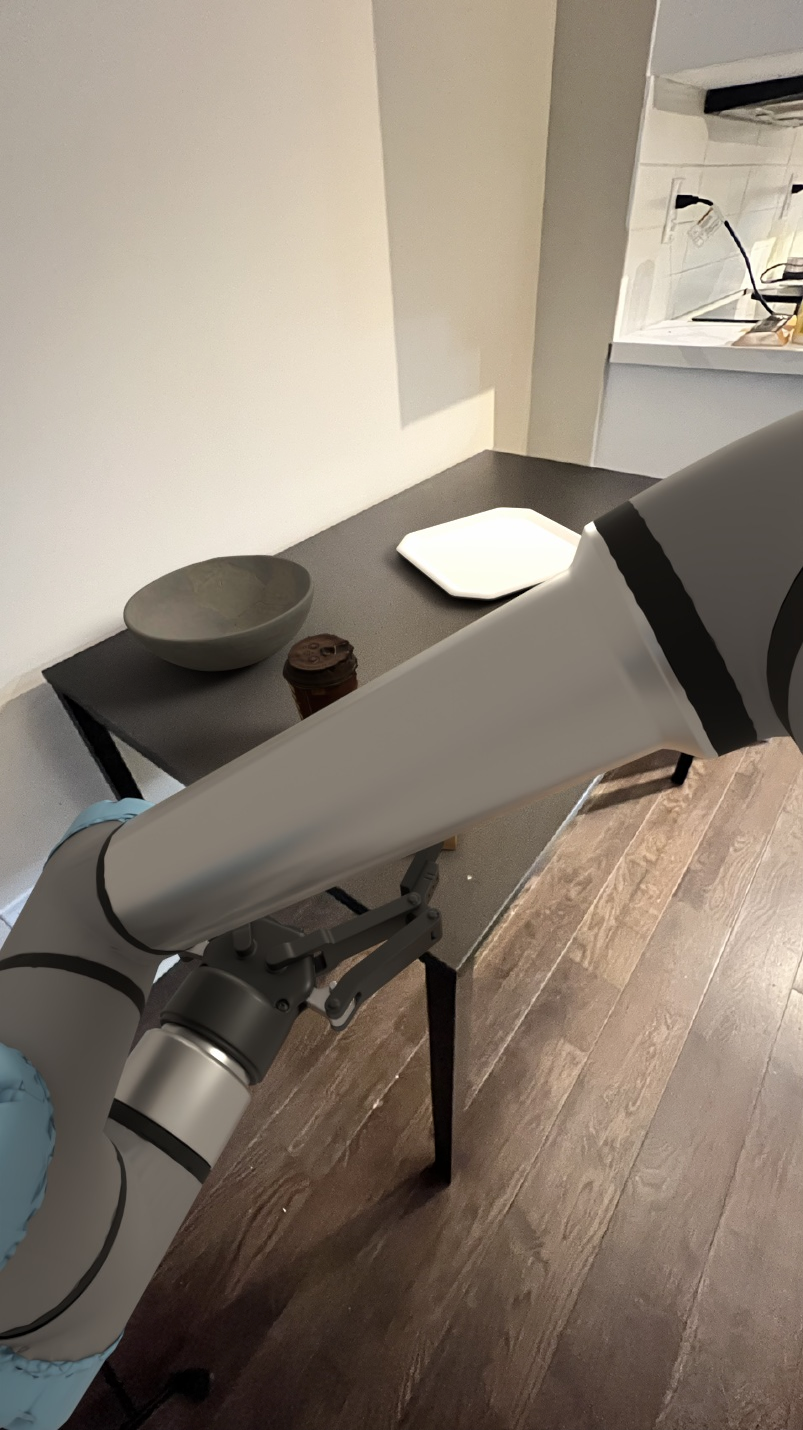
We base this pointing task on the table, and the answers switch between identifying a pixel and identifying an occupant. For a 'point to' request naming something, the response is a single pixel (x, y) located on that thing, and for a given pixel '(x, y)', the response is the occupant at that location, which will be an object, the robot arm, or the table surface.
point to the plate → (491, 552)
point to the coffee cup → (320, 672)
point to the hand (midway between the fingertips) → (364, 809)
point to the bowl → (222, 611)
